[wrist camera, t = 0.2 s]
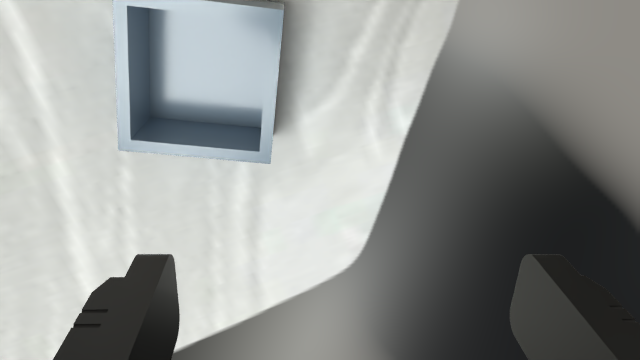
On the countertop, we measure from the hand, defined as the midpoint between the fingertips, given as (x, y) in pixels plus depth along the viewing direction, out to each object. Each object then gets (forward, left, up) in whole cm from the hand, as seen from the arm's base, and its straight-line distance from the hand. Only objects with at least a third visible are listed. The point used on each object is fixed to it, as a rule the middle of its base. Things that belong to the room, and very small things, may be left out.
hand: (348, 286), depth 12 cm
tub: (+1, -7, -28) cm, 29 cm away
